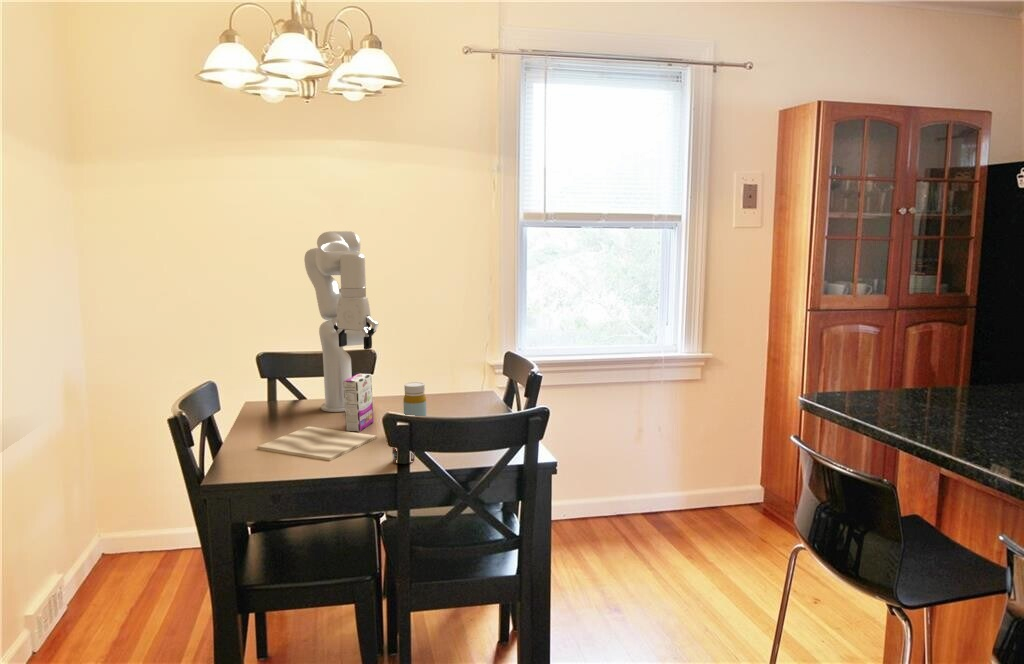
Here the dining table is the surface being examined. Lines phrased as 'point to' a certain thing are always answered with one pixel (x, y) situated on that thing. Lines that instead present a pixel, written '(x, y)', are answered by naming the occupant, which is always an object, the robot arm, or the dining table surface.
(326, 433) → the birch board
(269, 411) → the dining table surface
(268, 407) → the dining table surface
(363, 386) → the candy bar box
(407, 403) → the bottle
